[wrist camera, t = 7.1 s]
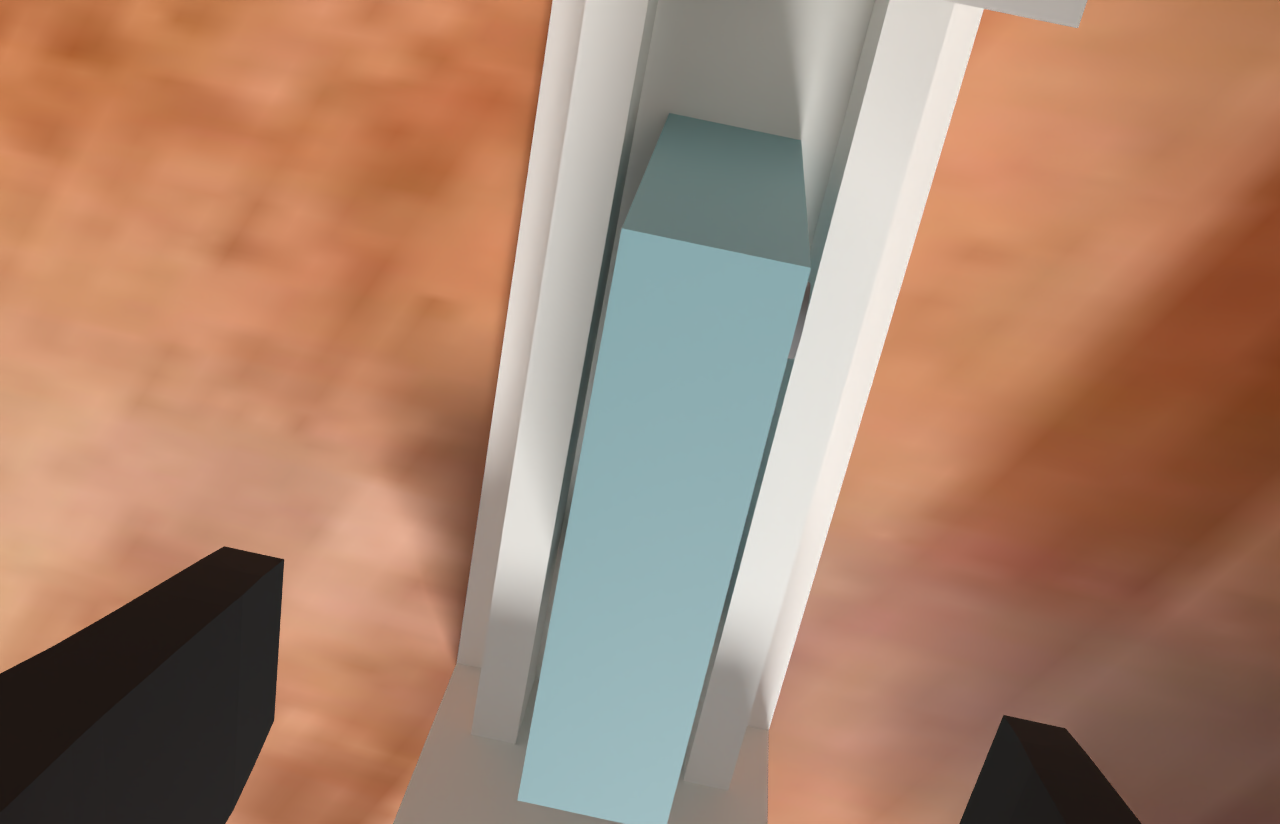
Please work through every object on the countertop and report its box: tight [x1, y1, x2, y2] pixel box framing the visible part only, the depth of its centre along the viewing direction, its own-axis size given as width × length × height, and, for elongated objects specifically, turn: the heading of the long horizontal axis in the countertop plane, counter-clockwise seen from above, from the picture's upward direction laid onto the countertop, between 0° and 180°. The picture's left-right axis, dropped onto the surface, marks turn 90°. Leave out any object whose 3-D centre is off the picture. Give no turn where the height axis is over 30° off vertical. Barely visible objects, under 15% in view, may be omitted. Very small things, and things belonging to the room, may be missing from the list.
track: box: [393, 0, 1087, 824], centre depth 18 cm, size 16×6×6 cm, turn 169°
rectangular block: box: [517, 113, 811, 824], centre depth 17 cm, size 8×2×6 cm, turn 170°
